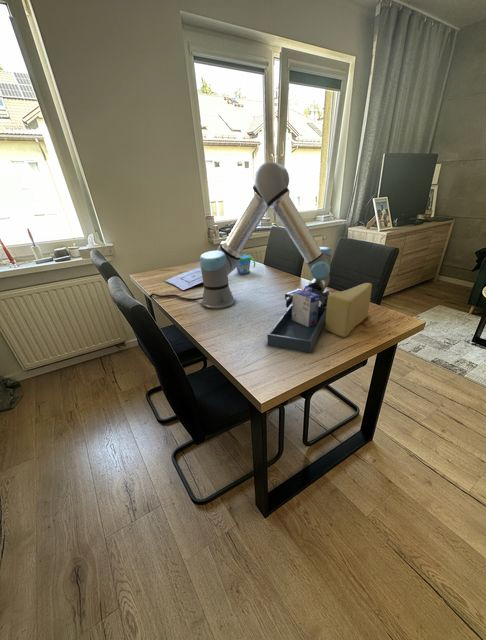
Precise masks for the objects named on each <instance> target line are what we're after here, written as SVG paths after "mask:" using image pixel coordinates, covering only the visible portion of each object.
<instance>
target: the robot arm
mask: <svg viewBox="0 0 486 640" xmlns="http://www.w3.org/2000/svg"><path fill="white" fill-rule="evenodd" d="M254 175H255V176H254V184H253V185H252V188H251V189H252V195H251V197H250V198H249V201H248V202H247V204H246V206H245V207H244V209H243V210H242V212H241V214H240V216H239V217H238V219H237V220H236V223H235V225H234V226H233V228H232V229H231V231H230V233H229V234H228V237H227V238H226V240H222V241H221V242H220V244H219V246H218V247H217V249H216V250H209V251H206V252H204V253H202V254H200V257H199V266H200V267H201V271H202V278H203V282H202V283H203V293H202V296H200V297H195V298H194V297H192V298H190V297H183V296H180V295H178V294H157V293H155V292H154V293H153V292H151V293H150V295H149V297H153V296H155V297H158V298H170V297H176V298H179V299H180V300H185V301H198V300H201V304H202V306H203V307H204V308H207V309H211V310H220V309H226V308H228V307H231V306H232V305H234V303H235V298H234V295H233V292H232V291H231V288H230V286H229V285H230V284H229V276H228V275H230V274H231V273H232V272H234V270H235V269H237V265H238V263H239V260H240V259H241V257H242V255H243V250H244V248H245V246H246V245H247V243H248V241H250V238H251V237H252V235H253V234H254V232H255V231H256V229H257V228H258V226H259V224H260V223H261V221H262V219H263V218H264V216H265V215H266V213H267V212H268V210H269V209H272V210H273V212H274V213H275V215H276V217H277V218H278V220H279V221H280V223H281V225H282V226H283V228H284V229H285V231H286V233H287V235H288V236H289V237H290V239H291V240H292V242H293V244H294V245H295V247H296V248H297V251H298V252H299V254H300V255H301V257H302V258H303V260H304V261H305V263H306V264H307V266H308V268H309V270H310V274H311V276H312V279H311V281H310V282H309V283H308V285H307V286H308V287H311V288H312V291H311V293H314V294H318V295H320V297H319V302H320V304H319V305H320V306H319V307H320V312H322V311H323V309H324V307H325V308H327V301H328V295H329V294H330V291H329V290H326V288H327V287H328V286H329V284H330V281H331V276H330V272H331V260H332V249H331V247H328V246H319V244H318V243H317V241H316V239H315V237H314V236H313V234H312V232H311V231H310V229H309V227H308V226H307V224H306V222H305V220H304V219H303V217H302V216H301V214H300V212H299V211H298V208H297V207H296V205H295V203H294V202H293V199H292V198H291V197H290V192H291V191H290V190H289V185H290V174H289V172H288V169H287V168H286V167H285V166H284V165H283V164H281V163H280V162H273V161H267V162H264V163H262V164H261V165H260V166H259V167H258V168H257V170H256V172H255V174H254ZM298 290H302V289H301V288H300V287H298V288H296V289H294V290H292V291H288V292H286V293H284V300H285V308H287V309H288V308H289V306H290V305H291V304H292V302H293V292H295V291H298ZM305 290H308V291H310V289H309V288H306V289H305ZM325 290H326V291H325Z"/></svg>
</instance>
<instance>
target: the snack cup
mask: <svg viewBox="0 0 486 640" xmlns="http://www.w3.org/2000/svg"><path fill="white" fill-rule="evenodd" d="M251 261H252V262H253V268H255V267H256V261H255V259H254V257H252V256H251V255H250V254H242V257H241V259H240V260H239V263H238V265H237V267H236V272H237V274H239V275H243V274H244V275H245V274H249V273H250V268H251Z"/></svg>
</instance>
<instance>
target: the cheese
mask: <svg viewBox="0 0 486 640" xmlns="http://www.w3.org/2000/svg"><path fill="white" fill-rule="evenodd" d="M372 288H373V283H371V282H365V283H361V284H358V285H356V286H354V287H351V288H348V289H345V290H341V291H336V292H333V293H329V295H328V301H327V307H326V308H327V310H326V320H325V326H324V328H325V331H327V332H330V333H332V334H334V335H336V336H339V337H341V338H346V337H347V336H348V335H349V334H350V333H351V331H352V330H354V328H355V327H356V326H357V325H359V324H361V323H362V322H363V321H364V320H365V319H367V317H368V314H369V311H370V310H369V308H370V305H371V296H372Z"/></svg>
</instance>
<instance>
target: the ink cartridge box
mask: <svg viewBox="0 0 486 640" xmlns="http://www.w3.org/2000/svg"><path fill="white" fill-rule="evenodd" d="M306 288H309V289H310V291H308V290H305V289H306ZM311 291H312V288H311V287H308V285H305V286H304V287H303V289H301V290H298V291H295V292H293V302H292V303H291V304H292V320H294V321H296V322H298V323H300V324H303V325H305V326H307V327H310V326H312V325H315V324H317V319H318V307H320V306H319V305H320V301H319V297H320V295H318V294H314V293H311Z"/></svg>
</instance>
